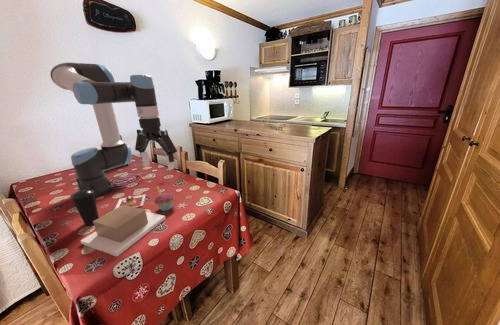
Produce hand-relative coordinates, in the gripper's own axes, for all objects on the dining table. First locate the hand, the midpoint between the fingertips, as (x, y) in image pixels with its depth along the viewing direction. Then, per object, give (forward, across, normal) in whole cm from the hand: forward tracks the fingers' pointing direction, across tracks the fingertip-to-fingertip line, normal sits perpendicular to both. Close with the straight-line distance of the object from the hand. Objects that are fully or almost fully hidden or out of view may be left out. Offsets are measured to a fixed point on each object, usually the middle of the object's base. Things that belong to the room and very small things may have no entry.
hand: (158, 167), depth 87 cm
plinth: (+20, -3, -18) cm, 27 cm away
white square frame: (+21, -20, -2) cm, 29 cm away
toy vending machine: (+20, -75, +33) cm, 84 cm away
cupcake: (+20, 0, 0) cm, 20 cm away
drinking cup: (+20, -22, -19) cm, 35 cm away
